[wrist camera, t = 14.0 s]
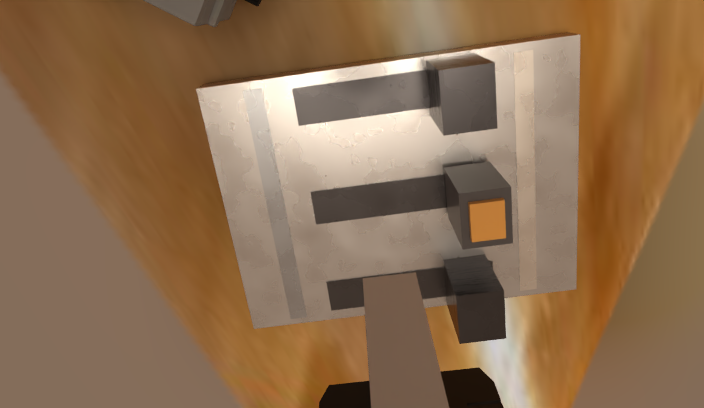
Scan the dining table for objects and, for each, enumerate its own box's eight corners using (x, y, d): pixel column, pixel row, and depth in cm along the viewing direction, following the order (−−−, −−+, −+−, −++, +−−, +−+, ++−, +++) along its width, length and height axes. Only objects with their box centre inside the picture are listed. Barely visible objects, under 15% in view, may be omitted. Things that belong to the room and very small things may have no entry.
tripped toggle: (444, 167, 35) (460, 196, 30) (489, 161, 35) (513, 189, 30) (447, 217, 37) (463, 252, 32) (491, 211, 37) (514, 246, 32)
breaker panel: (203, 84, 36) (171, 104, 29) (567, 32, 35) (618, 41, 28) (258, 314, 42) (241, 372, 36) (565, 275, 41) (606, 328, 35)
